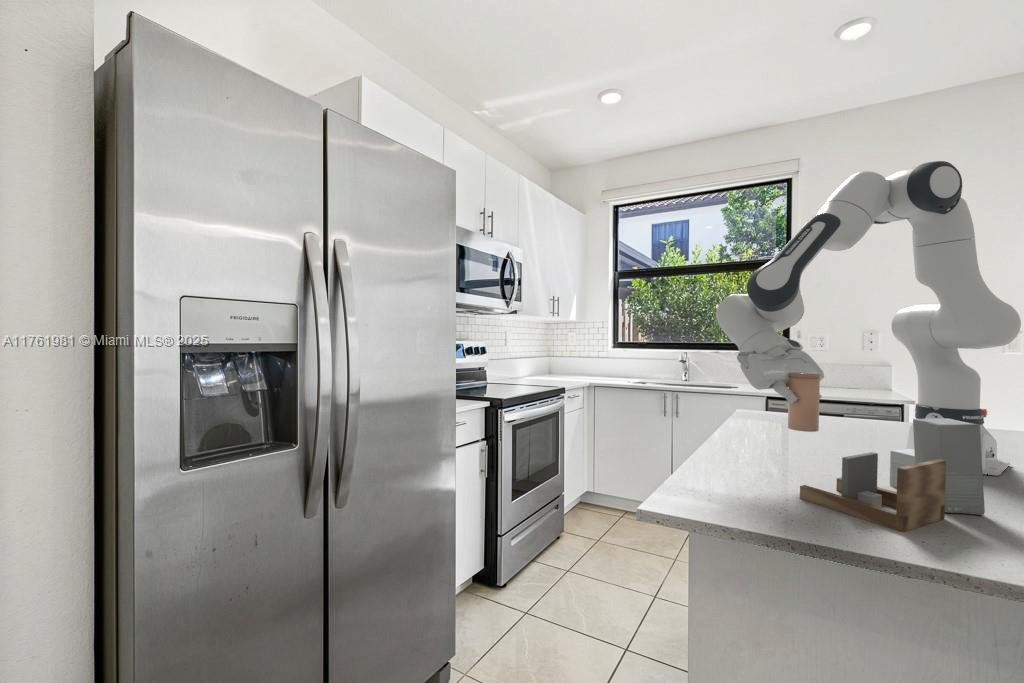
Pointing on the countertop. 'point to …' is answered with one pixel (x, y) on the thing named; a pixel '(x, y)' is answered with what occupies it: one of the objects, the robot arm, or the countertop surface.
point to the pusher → (861, 478)
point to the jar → (804, 401)
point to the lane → (895, 498)
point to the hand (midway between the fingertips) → (806, 400)
